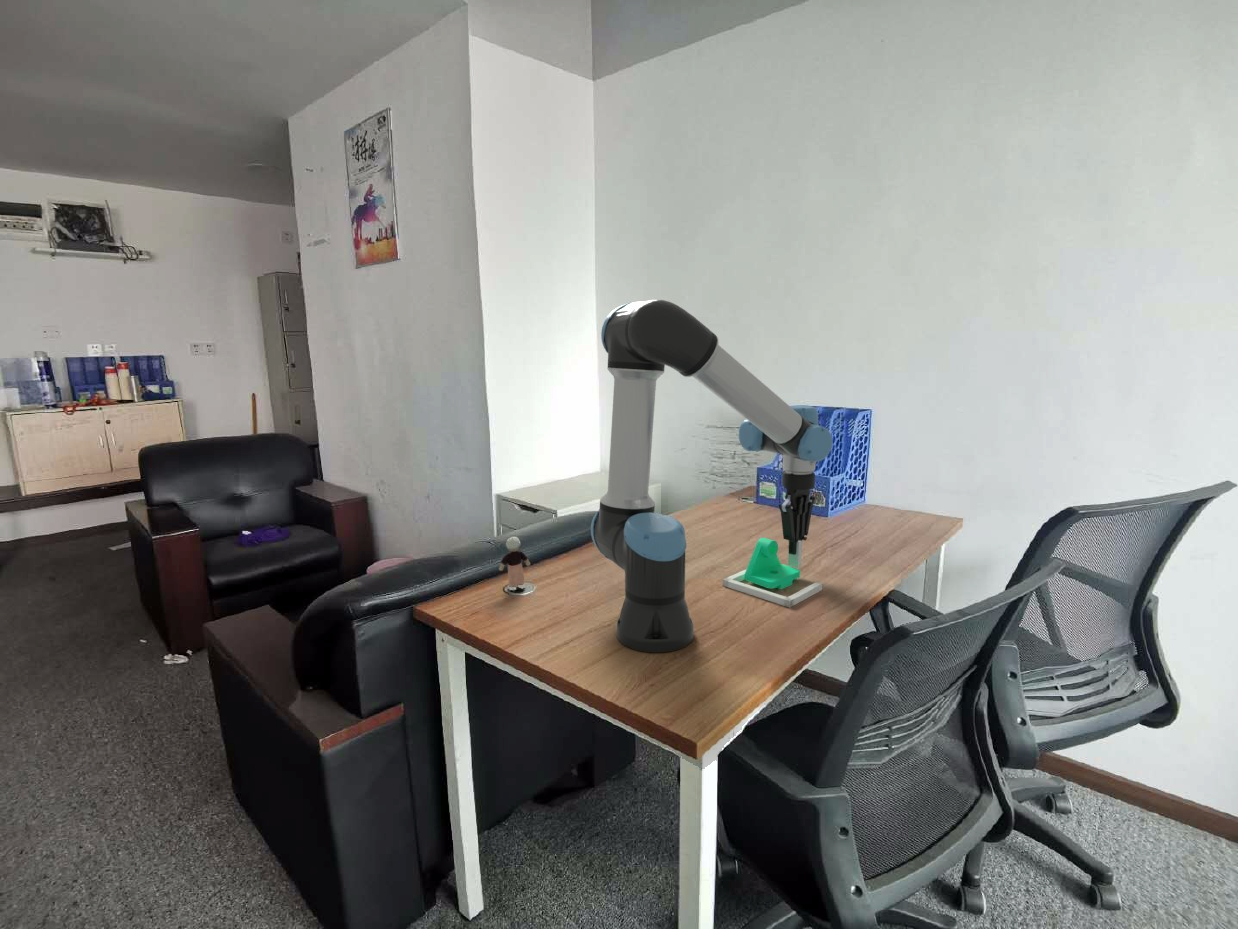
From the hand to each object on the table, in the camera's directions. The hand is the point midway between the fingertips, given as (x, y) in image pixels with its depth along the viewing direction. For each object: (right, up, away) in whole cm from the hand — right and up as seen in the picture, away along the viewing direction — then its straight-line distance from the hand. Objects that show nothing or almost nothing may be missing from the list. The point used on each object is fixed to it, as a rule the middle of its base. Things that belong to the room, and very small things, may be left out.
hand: (794, 565), depth 153 cm
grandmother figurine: (-68, -5, -5) cm, 68 cm away
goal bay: (-7, -4, -6) cm, 10 cm away
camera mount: (-6, -4, -3) cm, 8 cm away
